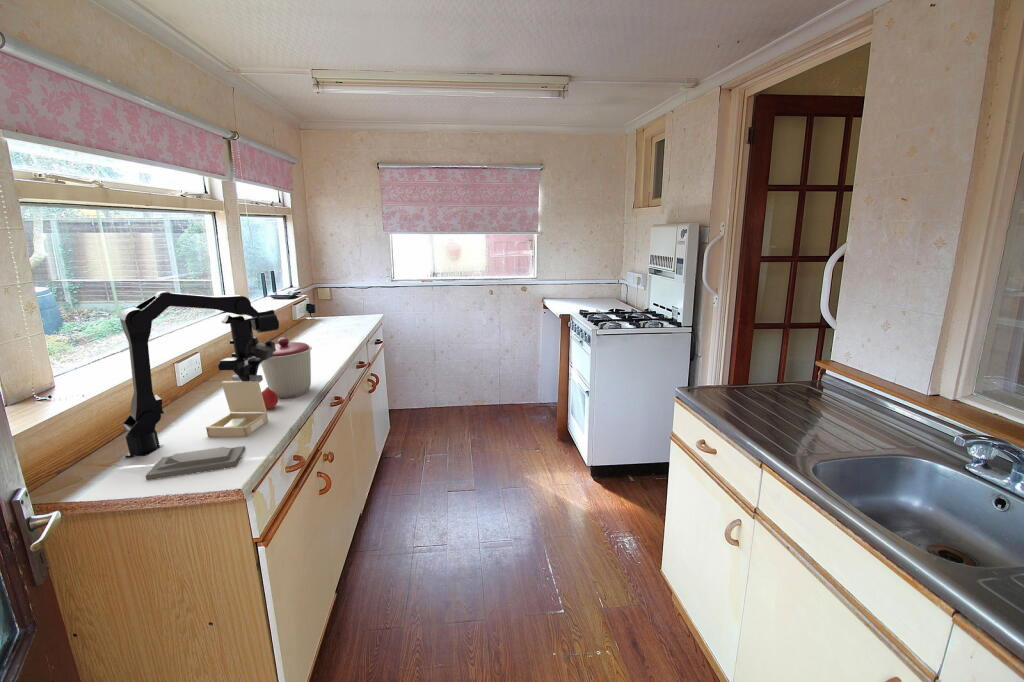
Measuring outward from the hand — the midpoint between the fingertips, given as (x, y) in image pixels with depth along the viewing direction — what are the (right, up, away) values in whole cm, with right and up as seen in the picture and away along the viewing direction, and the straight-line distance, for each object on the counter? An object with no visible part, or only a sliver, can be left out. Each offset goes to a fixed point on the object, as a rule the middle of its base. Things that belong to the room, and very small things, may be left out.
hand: (250, 384), depth 153 cm
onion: (+1, -10, +10) cm, 14 cm away
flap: (0, -4, -4) cm, 5 cm away
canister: (+1, -6, +26) cm, 26 cm away
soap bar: (-1, -13, -6) cm, 14 cm away
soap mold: (+1, -19, -26) cm, 33 cm away
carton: (0, -13, -6) cm, 15 cm away
